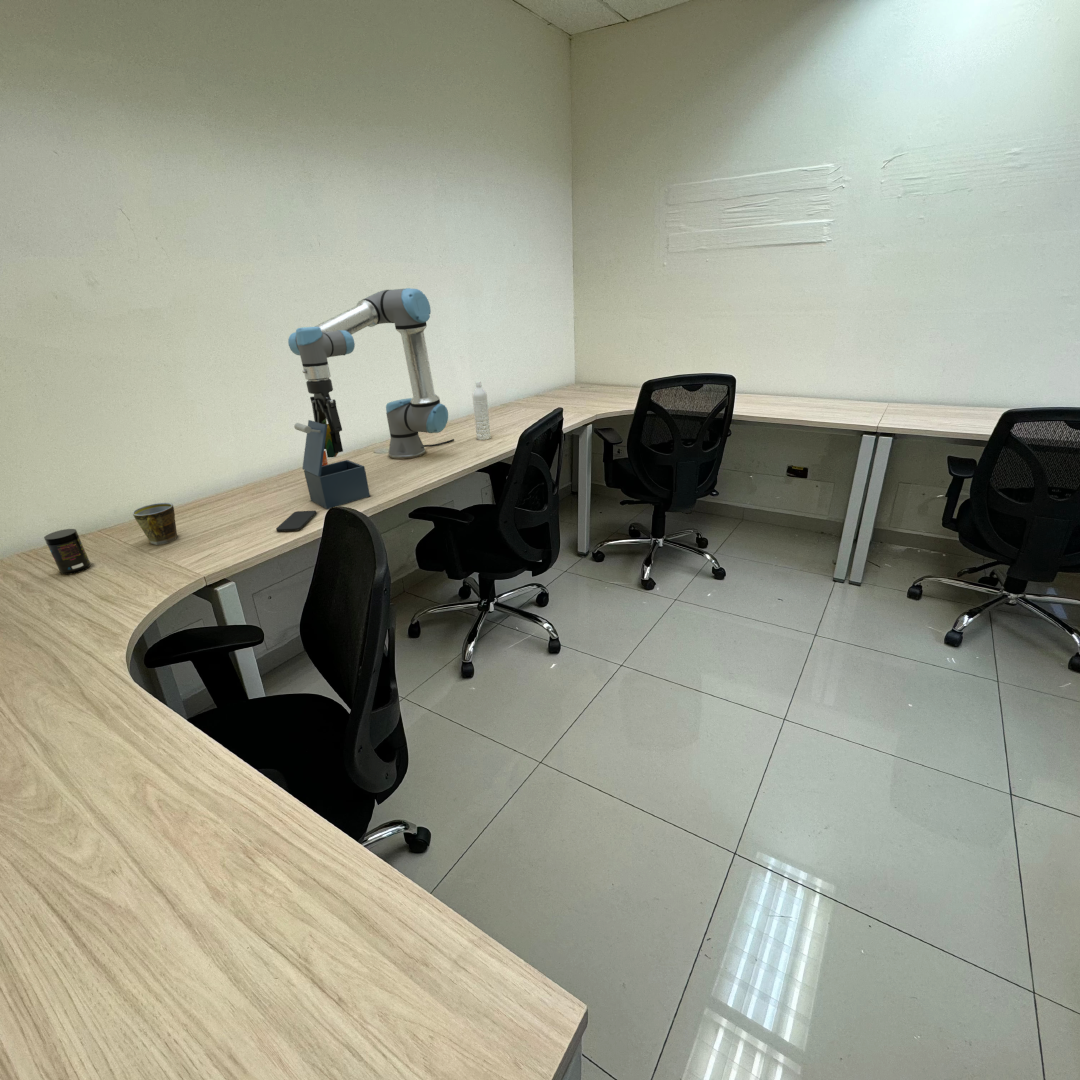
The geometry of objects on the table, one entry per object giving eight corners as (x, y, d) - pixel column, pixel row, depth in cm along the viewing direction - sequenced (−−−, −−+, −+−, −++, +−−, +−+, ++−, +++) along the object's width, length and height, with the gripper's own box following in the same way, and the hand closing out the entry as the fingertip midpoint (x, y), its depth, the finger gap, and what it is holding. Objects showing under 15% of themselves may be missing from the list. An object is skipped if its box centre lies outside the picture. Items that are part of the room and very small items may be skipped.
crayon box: (336, 457, 181) (330, 421, 176) (327, 457, 180) (320, 422, 176) (340, 451, 187) (334, 417, 183) (330, 452, 187) (325, 417, 182)
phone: (317, 510, 178) (299, 528, 164) (318, 512, 178) (299, 530, 164) (294, 511, 178) (274, 529, 164) (295, 513, 178) (275, 532, 164)
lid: (310, 420, 182) (292, 417, 177) (327, 425, 173) (308, 422, 169) (304, 469, 185) (286, 467, 180) (320, 476, 176) (301, 474, 172)
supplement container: (84, 561, 152) (69, 527, 148) (96, 566, 149) (81, 531, 145) (55, 572, 147) (38, 536, 142) (67, 577, 144) (50, 541, 139)
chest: (353, 488, 199) (347, 459, 194) (370, 496, 190) (364, 466, 186) (310, 500, 189) (303, 470, 184) (326, 509, 181) (319, 477, 176)
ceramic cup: (148, 537, 166) (136, 506, 162) (186, 530, 169) (175, 500, 165) (139, 554, 155) (126, 521, 151) (179, 546, 158) (168, 514, 154)
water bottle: (491, 439, 254) (486, 383, 243) (476, 440, 253) (471, 384, 243) (490, 435, 262) (485, 381, 251) (476, 436, 261) (471, 382, 251)
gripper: (293, 378, 178) (309, 447, 188) (320, 383, 165) (336, 457, 174) (316, 375, 183) (330, 443, 192) (344, 380, 169) (358, 452, 179)
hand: (333, 450), depth 183 cm, fingers closed on crayon box, 7 cm apart
